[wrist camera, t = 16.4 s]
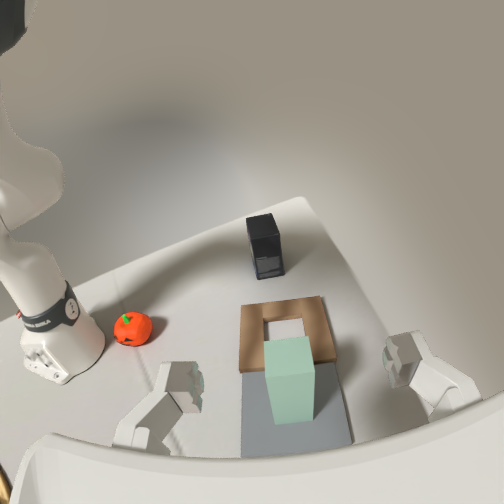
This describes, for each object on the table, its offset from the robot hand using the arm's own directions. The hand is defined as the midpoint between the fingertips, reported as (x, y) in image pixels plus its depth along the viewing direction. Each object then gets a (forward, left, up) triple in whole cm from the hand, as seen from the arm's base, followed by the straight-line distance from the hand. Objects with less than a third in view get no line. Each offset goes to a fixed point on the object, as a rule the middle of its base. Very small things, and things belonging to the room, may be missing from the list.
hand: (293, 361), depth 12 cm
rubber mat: (0, +12, -28) cm, 30 cm away
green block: (0, +12, -27) cm, 30 cm away
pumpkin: (-28, +29, -28) cm, 49 cm away
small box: (-2, +49, -28) cm, 57 cm away
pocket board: (0, +27, -28) cm, 39 cm away
